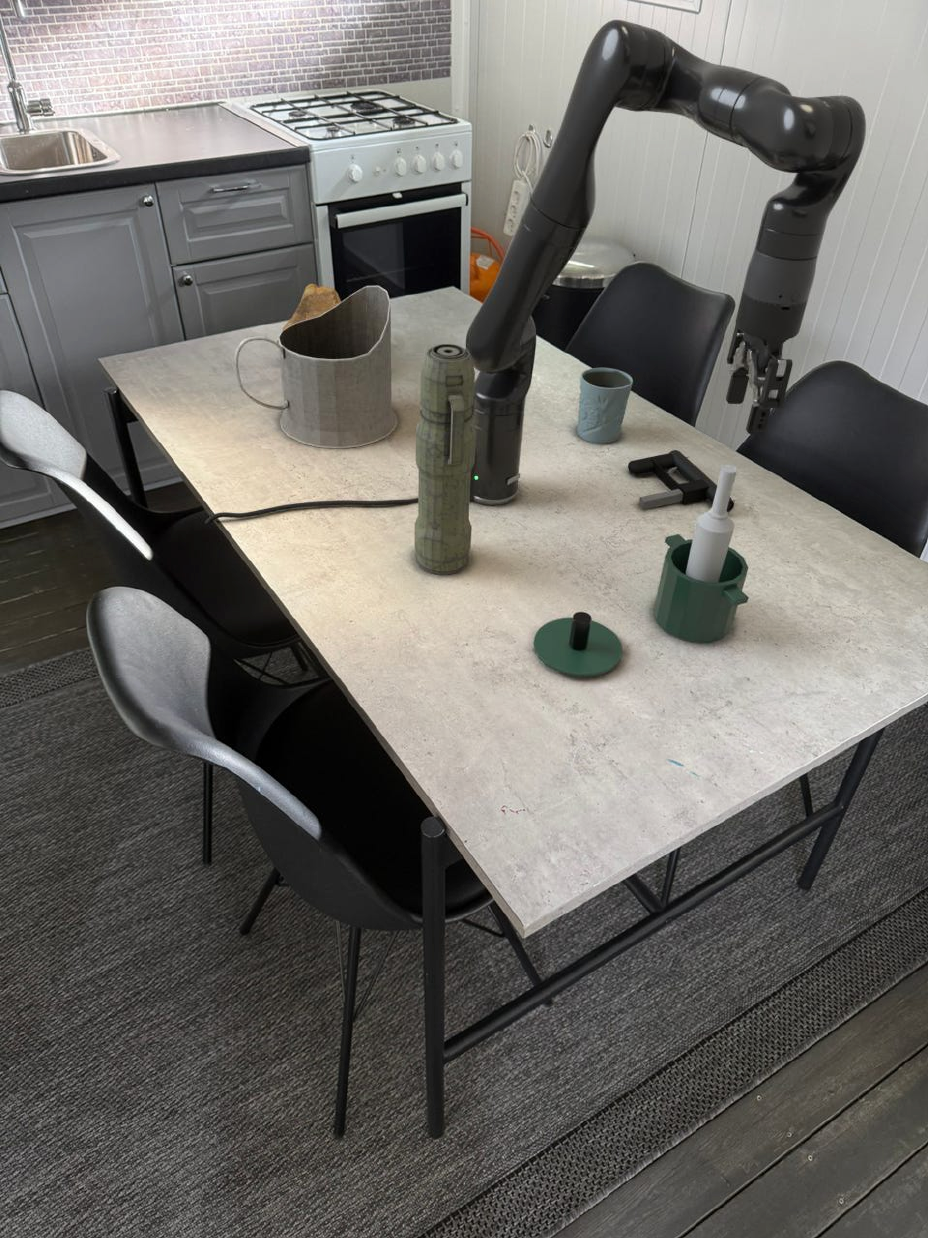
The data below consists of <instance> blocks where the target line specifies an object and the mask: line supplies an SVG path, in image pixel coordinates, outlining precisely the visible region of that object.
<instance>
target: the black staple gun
mask: <svg viewBox="0 0 928 1238" xmlns="http://www.w3.org/2000/svg"><path fill="white" fill-rule="evenodd" d="M689 458H690V456H686V455H684V454H683V452H681V451H680V450H677V449H673V450H670V451H669V452H668V453H664V454H658V455H653V456H648V457H644V458H638V459H634V460H633V459H632V460H630V461H629V462H628V464H627V469H628V471H629V472H630V474H632V475H634V476H641V475H647V474H650V473H652V474H653V475H654V476H655V477H656V478H657V479H659V481H660V482H662V484H663V485H664V486H666V487H667V488H668V489H669V490H667V491H662V492H658V493H653V494H648V495H644V496H640V497H639V500H638V506H639V508H641V509H642V511H645V510H649V509H653V508H658V507H662V506H667V505H672V504H676V503H680V504H682V505H683V506H686V505H690V504H695V503H699V502H705V501H708V502H709V503H710V504H712V505H713V502H714V498H715V494H716V490H717V486H718V484H717V483H715V482H714V481H713V480H712V479H711V478H710V477H709V476H707V475H706V473H705V472H704V471H702V470H701V469H700V468H699V467H698V466H697V465H696V464H694V463H693V462H692V461H691V460H690V459H689ZM667 470H668V471H667ZM675 471H676V472H677V473H678V474H679V475H680V476H681V477H683V478H684V479H685V480H686V482H682V483H678V481H676V480H675V479H674V478H673V477H672V476H671V475H672V474H673V473H674V472H675ZM735 502H736V500H735V499H734V500H733V498H732V497H731V496H730V498H729V502H728V506H727V510H726V511H727V512H728V513H730V512H731V511H732V510H733V509H734V507H735Z"/></svg>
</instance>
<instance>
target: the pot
mask: <svg viewBox="0 0 928 1238" xmlns="http://www.w3.org/2000/svg"><path fill="white" fill-rule="evenodd" d="M664 538H665V539H664V543H665V544H666V545H667V546H668V549H667V551H666V554H665V556H664V560H663V565H662V569H661V574H660V579H659V583H658V587H657V588H658V589H657V593H656V598H655V601H654V607H653V618H654V621H655V622H656V624H657V625H658V627H659V628H660V629H662V631H664V632H665V633H666V634H668V635H670V637H674V638H675V639H678V640H680V641H684V642H688V643H693V644H709V643H715V642H718V641H720V640H723V639H724V638H726V637H727V636H728V635H729V634H730V632H731V630H732V627H733V623H734V620H735V616H736V613H737V610H738V607H739V606H740V605H744V604H747V603H748V601H749V598H750V596H748V595H747V594H746V593H745V592H744V591H743V589H744V585H745V582H746V579H747V576H748V570H749V565H748V563H747V561H746V559H745V557H743V555H741V554H740V553H739V552H738V551H737V550H736V549H734V548H732V547H730V546H729V547H728V550H727V554H726V557H725V561H724V564H723V568H722V571H721V574H720V578H719V581H718V583H717V582H704V581H700V580H696V579H693V578H691V577H689V576H687V575H685V574H686V570H687V565H688V560H689V556H690V551H691V546H692V541H693V538H692V539H691V538H690V539H685V538H684V537H683V536H681V534H680V533H677V534H673V535H667V536H665V537H664Z"/></svg>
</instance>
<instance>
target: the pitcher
mask: <svg viewBox="0 0 928 1238" xmlns="http://www.w3.org/2000/svg"><path fill="white" fill-rule="evenodd" d="M391 307H392V306H391V298H390V296H389V293H388V291H387V290H386V289H384V288H383V287H381V286H380V285H366V286H364V287H362V288H360V289H359V290H357V291H355V292H353V293H352V294H350V295H349V296H348V297H346V298H345V299H344V300H341V303H339V304H338V305H337V306H335V307H334V308H332V309H330V310H329V311H327V312H325V313H324V314H322V315H320V316H318V317H314V318H311V319H307V320H304V321H301V322H298V323H295V324H292V325H290V326H289V327H287V328H286V329H284V330H283V329H282V330H281V332H280V334H279V335H278V338H277V341H278V340H279V344H278V343H277V341H275V340H273V339H271V338H269V337H266V336H257V335H255V336H249V337H246V338H244V339H243V340H241V341H240V342H239V343H238V345H237V347H236V348H235V352H234V356H233V363H234V364H233V365H234V373H235V377H236V381H237V384H238V387H239V388H240V390H241V391H242V392H243V393H244V394H245V396H247V397H248V398H249V399H250V400H251V401H253V402H254V403H256V404H257V405H260V406H261V407H264V408H267V409H270V410H275V411H282V414H281V417H280V420H279V423H280V428H281V430H282V431H283V432H284V433H285V434H286V436H288V437H289V438H290V439H293V440H294V441H296V442H299V443H300V444H304V445H307V446H308V445H309V446H313V447H317V448H323V449H348V448H349V449H350V448H358V447H363V446H366V445H370V444H374V443H376V442H378V441H381V440H383V439H385V438H387V437H388V436H389V435H390V434H391V433H392V432H394V430H395V429H396V426H397V422H398V418H397V416H396V413H395V411H394V408H393V406H392V405H393V404H392V403H393V402H392V401H393V400H392V399H393V397H392V316H391V315H392V313H391V310H392V309H391ZM253 341H264V342H267V343H271V344H272V345H275V346H276V347H277V348H278V349H279V350H278V351H279V361H280V362H279V363H280V373H281V384H282V393H283V395H282V396H283V405H279V406H277V405H272V404H268V403H264V402H262V401H260V400H258V399H256V398H255V397H253V396H252V395H251V394H249V393H248V392H247V391H246V390H245V388H244V386H243V384H242V380H241V375H240V370H239V369H240V368H239V356H240V352H241V351H242V349H243V348H244V346H245V345H247V344H248V343H249V342H253Z"/></svg>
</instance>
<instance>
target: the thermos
mask: <svg viewBox="0 0 928 1238" xmlns="http://www.w3.org/2000/svg"><path fill="white" fill-rule="evenodd" d="M424 355H425V356H424V358H423V361H422V364H421V367H420V384H419V385H420V390H419V391H420V397H419V398H420V399H419V401H420V402H419V403H420V406H421V409H420V411H419V419H418V422H417V424H416V428H415V465H416V467H417V469H418V492H417V493H418V495H417V498H418V502H417V505H418V506H417V512H418V514H417V517H416V519H415V522H414V550H415V563H416V565H417V566H418V568H419V569H421V570H422V571H424V572H426V573H429V574H431V575H437V576H450V575H454V574H457V573H461V572H462V571H464V569H465V568H466V567H468V565H469V562H470V551H471V546H472V530H473V529H472V524H471V521H470V519H469V517H470V501H469V500H470V480H471V470H472V468H473V466H474V463H475V445H476V430H475V427H474V423H473V413H472V406H473V401H474V382H475V380H476V379H475V378H476V372H475V371H476V370H475V368H474V367H473V363H472V360H471V356H470V353H469V351H468V350H466V348H465V347H462V346H460V345H458V344H454V343H442V344H437V345H435V346H431V347H430V348H428V349H427V351H426V353H425V354H424Z"/></svg>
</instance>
